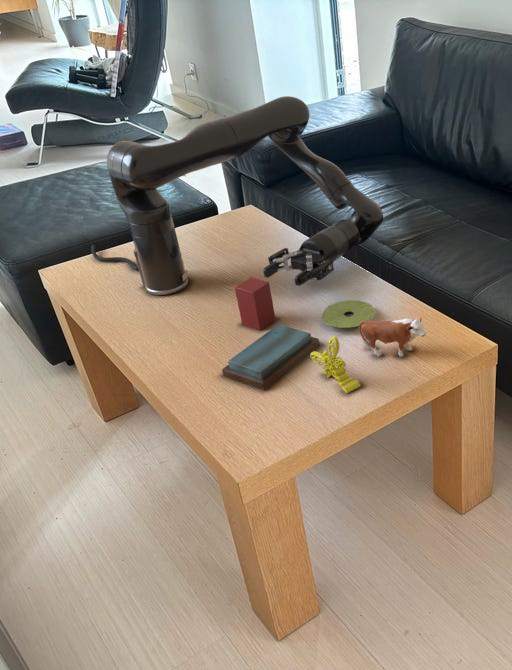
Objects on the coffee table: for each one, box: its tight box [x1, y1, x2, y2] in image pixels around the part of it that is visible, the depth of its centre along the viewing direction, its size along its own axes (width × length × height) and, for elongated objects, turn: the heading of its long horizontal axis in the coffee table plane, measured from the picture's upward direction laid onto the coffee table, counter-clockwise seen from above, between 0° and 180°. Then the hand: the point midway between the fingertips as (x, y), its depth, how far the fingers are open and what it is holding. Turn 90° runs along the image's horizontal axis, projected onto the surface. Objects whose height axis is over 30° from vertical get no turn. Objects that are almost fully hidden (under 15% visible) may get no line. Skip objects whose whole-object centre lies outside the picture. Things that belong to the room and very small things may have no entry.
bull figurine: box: [358, 317, 427, 358], centre depth 142 cm, size 4×13×8 cm, turn 78°
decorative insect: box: [309, 335, 361, 394], centre depth 135 cm, size 13×3×10 cm
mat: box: [321, 299, 376, 329], centre depth 154 cm, size 11×11×2 cm
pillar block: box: [234, 276, 276, 331], centre depth 153 cm, size 5×5×9 cm
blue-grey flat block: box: [221, 323, 320, 391], centre depth 142 cm, size 10×17×3 cm, turn 151°
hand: (280, 277), depth 158 cm, fingers open, 8 cm apart
